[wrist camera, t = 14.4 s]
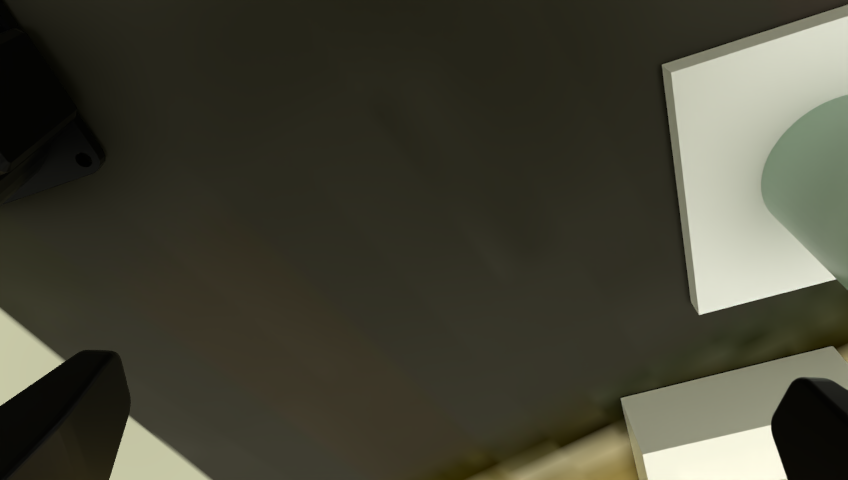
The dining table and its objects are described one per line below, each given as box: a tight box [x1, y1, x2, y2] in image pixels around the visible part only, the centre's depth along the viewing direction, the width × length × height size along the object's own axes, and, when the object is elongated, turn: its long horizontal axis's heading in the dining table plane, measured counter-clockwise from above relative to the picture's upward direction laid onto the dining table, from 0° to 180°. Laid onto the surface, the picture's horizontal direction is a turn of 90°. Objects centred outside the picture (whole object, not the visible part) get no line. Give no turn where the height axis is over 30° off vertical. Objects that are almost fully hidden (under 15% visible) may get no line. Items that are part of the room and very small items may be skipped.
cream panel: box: [662, 5, 848, 315], centre depth 21 cm, size 10×10×1 cm
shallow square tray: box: [620, 346, 848, 480], centre depth 28 cm, size 9×9×3 cm
